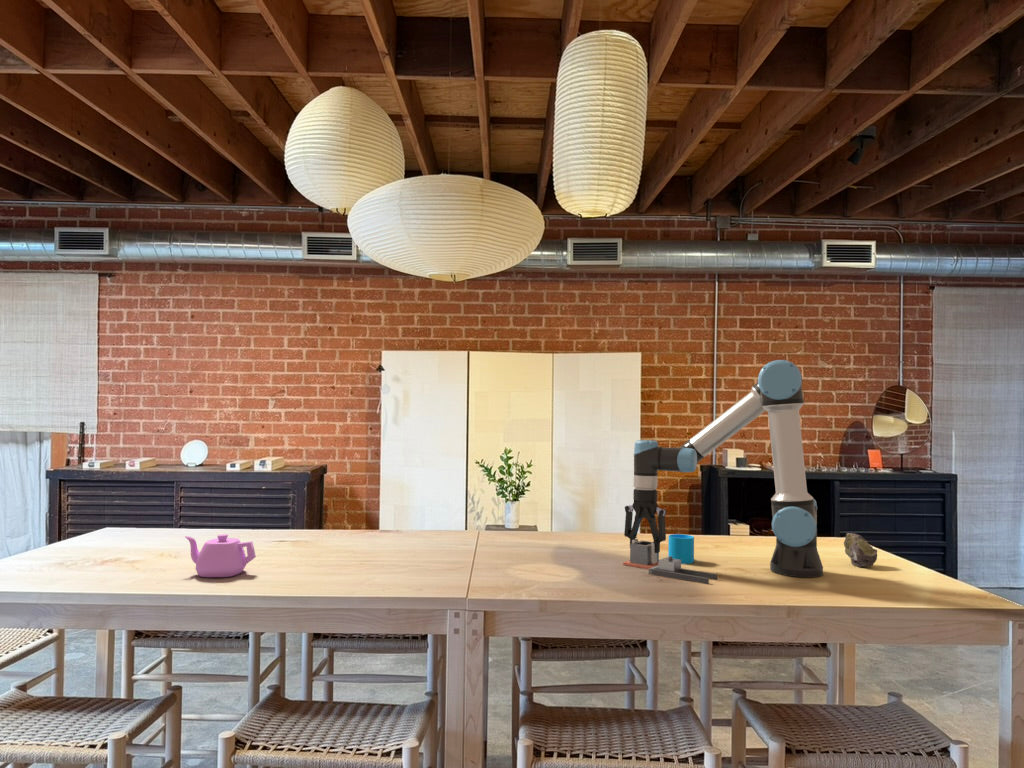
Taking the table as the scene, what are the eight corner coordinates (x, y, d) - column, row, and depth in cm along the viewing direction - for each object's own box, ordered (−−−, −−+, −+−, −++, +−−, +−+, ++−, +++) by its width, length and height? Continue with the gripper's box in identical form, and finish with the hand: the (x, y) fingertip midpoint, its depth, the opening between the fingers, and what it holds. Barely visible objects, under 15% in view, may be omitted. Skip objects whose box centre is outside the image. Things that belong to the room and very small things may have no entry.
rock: (835, 564, 223) (835, 534, 223) (848, 561, 229) (848, 531, 230) (870, 570, 215) (870, 539, 215) (882, 566, 221) (882, 535, 222)
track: (717, 579, 200) (717, 574, 200) (707, 584, 194) (707, 578, 194) (659, 569, 211) (659, 564, 211) (648, 573, 205) (648, 568, 205)
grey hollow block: (658, 561, 219) (658, 542, 219) (647, 565, 213) (647, 546, 213) (641, 558, 223) (641, 540, 223) (630, 562, 216) (630, 543, 217)
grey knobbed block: (681, 573, 205) (681, 556, 205) (674, 576, 201) (674, 559, 202) (665, 570, 208) (665, 554, 209) (658, 573, 204) (658, 556, 205)
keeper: (666, 564, 218) (666, 546, 219) (652, 569, 211) (652, 551, 211) (637, 560, 225) (637, 542, 225) (623, 565, 217) (623, 547, 217)
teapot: (192, 568, 201) (194, 530, 202) (261, 569, 202) (263, 531, 203) (172, 579, 188) (174, 538, 189) (246, 579, 189) (248, 539, 190)
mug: (697, 564, 221) (697, 538, 221) (672, 564, 220) (673, 538, 220) (684, 556, 233) (685, 532, 233) (661, 556, 232) (661, 532, 232)
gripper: (678, 490, 216) (677, 564, 215) (624, 485, 227) (623, 555, 226) (668, 492, 210) (667, 568, 209) (613, 486, 221) (612, 558, 220)
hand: (644, 561), depth 218 cm, fingers closed on grey hollow block, 6 cm apart
